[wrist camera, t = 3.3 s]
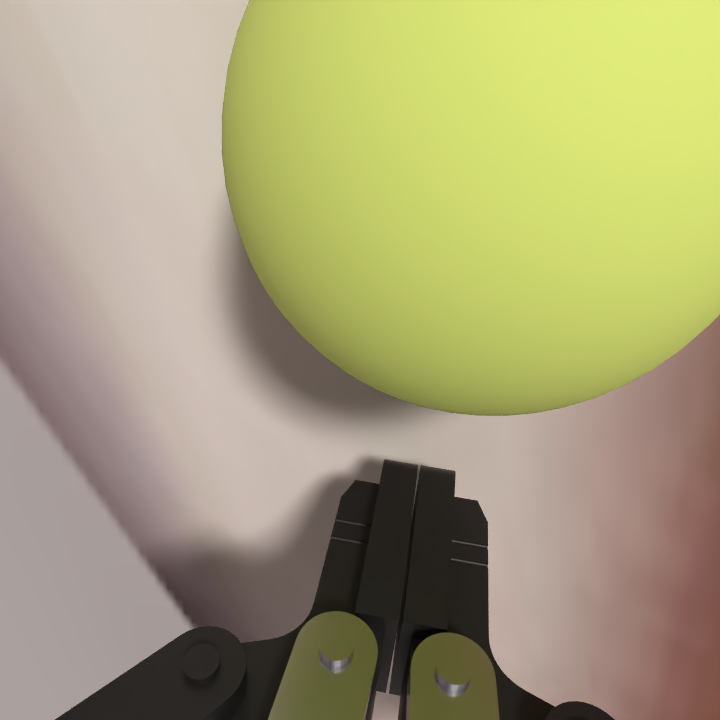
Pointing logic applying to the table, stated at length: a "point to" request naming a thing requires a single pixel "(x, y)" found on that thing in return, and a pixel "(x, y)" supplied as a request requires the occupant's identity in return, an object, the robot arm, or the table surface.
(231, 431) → the table surface
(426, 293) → the ball
